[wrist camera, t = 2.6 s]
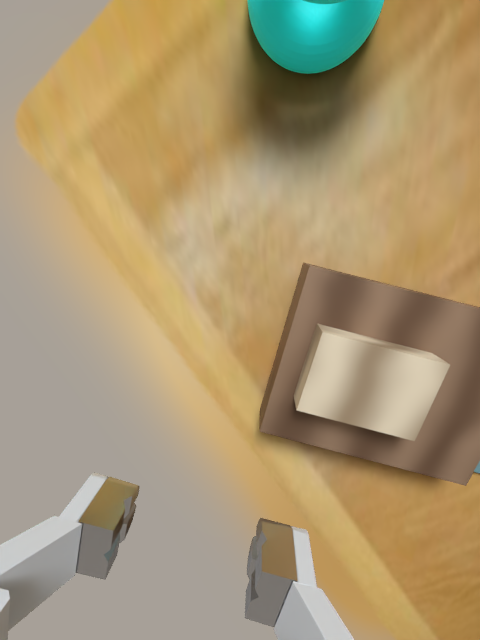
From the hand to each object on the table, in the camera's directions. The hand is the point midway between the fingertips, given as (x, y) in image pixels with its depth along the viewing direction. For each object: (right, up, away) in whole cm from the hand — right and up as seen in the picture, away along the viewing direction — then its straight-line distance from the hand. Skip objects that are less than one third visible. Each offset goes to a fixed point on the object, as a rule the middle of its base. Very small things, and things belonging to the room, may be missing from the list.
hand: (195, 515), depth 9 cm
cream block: (+12, +1, +16) cm, 20 cm away
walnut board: (+15, +2, +20) cm, 25 cm away
